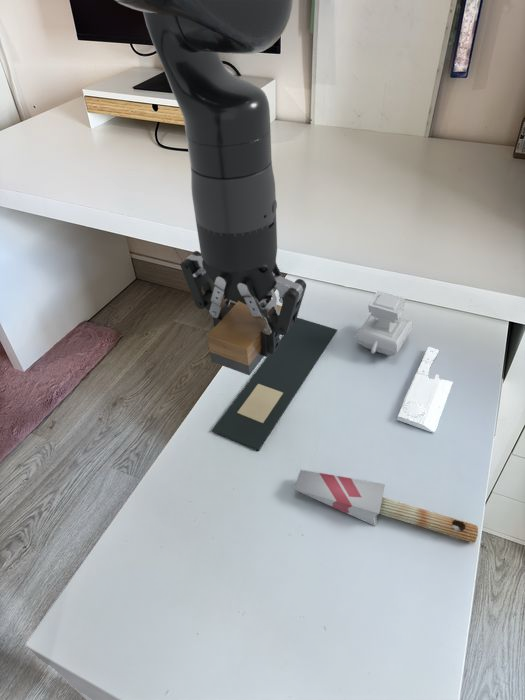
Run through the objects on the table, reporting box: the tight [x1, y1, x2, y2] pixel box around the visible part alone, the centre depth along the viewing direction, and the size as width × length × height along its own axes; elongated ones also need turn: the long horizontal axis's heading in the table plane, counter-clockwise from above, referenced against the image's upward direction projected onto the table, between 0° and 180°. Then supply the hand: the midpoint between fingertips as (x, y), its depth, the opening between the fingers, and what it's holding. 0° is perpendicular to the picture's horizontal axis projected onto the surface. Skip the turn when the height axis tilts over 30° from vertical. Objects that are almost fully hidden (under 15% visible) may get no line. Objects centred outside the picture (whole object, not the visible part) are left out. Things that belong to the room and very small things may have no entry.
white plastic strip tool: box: [396, 346, 454, 434], centre depth 70 cm, size 5×15×1 cm, turn 151°
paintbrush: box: [293, 469, 479, 544], centre depth 56 cm, size 4×3×20 cm
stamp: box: [354, 290, 413, 357], centre depth 75 cm, size 9×7×8 cm
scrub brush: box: [206, 301, 282, 376], centre depth 57 cm, size 8×5×4 cm, turn 151°
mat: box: [211, 317, 338, 452], centre depth 73 cm, size 26×7×1 cm, turn 151°
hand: (247, 344), depth 58 cm, fingers closed on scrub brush, 5 cm apart
